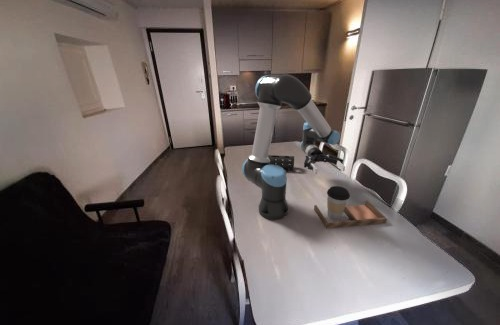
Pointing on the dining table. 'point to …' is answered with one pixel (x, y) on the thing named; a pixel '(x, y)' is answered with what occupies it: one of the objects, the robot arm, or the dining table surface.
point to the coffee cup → (336, 202)
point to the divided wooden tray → (355, 216)
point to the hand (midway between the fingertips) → (330, 170)
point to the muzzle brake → (282, 161)
